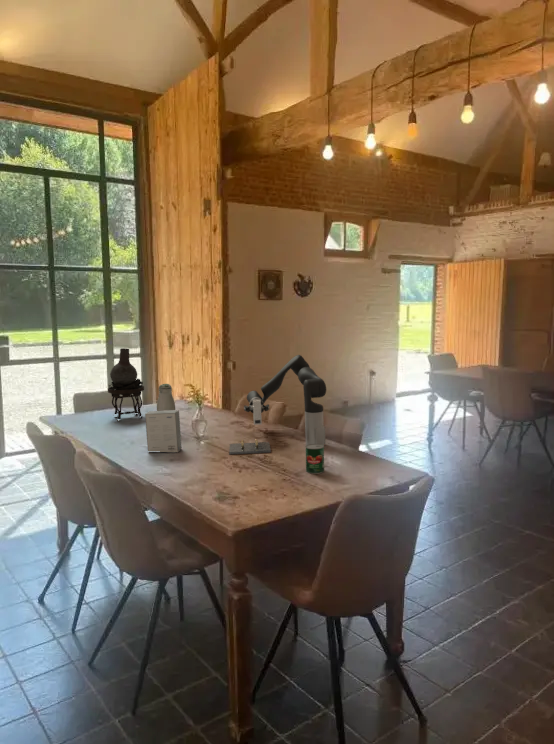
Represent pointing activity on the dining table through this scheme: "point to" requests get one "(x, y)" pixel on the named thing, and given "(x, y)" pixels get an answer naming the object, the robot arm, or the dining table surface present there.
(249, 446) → the pin tray
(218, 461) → the dining table surface
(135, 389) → the brazier
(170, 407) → the grey bottle
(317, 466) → the canned tomato
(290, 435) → the dining table surface
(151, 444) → the hard drive box
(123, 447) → the dining table surface
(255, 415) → the block
